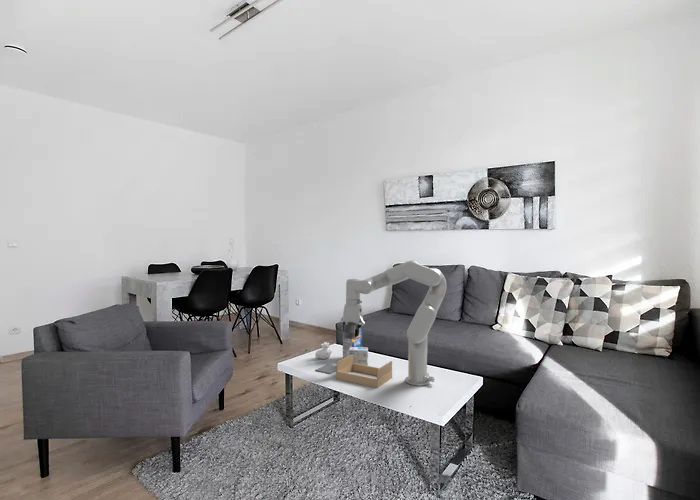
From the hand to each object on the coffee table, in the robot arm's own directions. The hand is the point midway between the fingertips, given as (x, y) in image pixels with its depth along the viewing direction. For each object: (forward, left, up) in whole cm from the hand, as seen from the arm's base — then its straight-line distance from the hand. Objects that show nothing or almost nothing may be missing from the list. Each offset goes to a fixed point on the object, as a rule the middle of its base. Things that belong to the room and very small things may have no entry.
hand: (352, 335), depth 215 cm
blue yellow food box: (+14, -25, -22) cm, 36 cm away
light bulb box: (+4, -15, -22) cm, 27 cm away
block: (0, 0, -1) cm, 1 cm away
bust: (+30, -18, -22) cm, 41 cm away
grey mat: (+16, -2, -22) cm, 27 cm away
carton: (-8, 0, -22) cm, 23 cm away
